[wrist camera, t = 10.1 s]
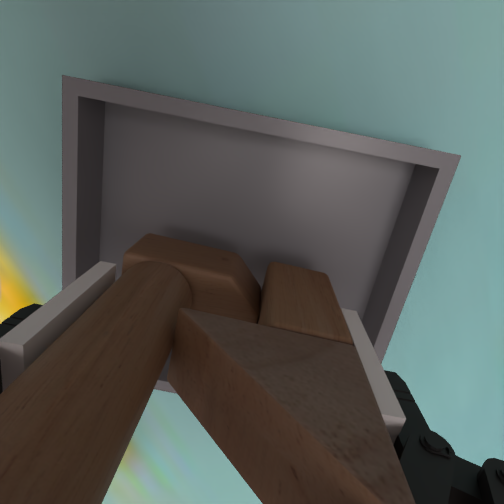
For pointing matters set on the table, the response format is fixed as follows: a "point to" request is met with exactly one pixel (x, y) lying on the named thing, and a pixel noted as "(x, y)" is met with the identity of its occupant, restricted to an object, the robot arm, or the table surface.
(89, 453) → the brown round-handled part
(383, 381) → the robot arm
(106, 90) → the tray
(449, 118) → the table surface
